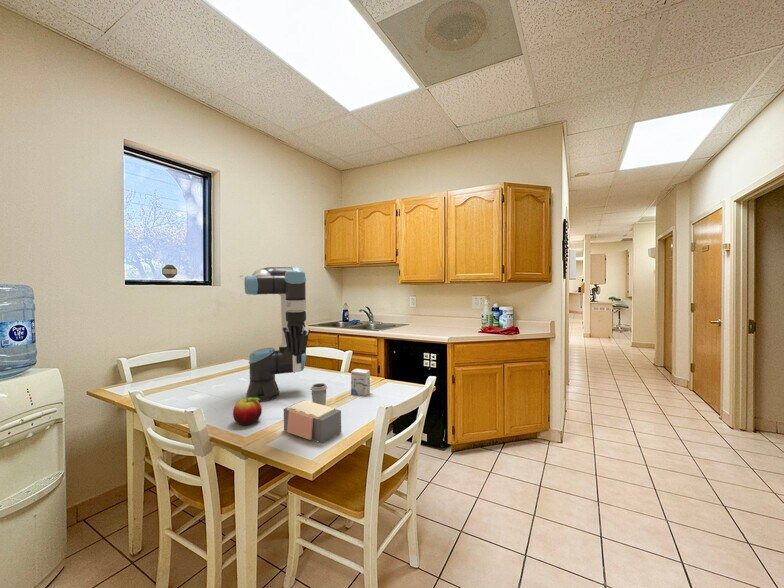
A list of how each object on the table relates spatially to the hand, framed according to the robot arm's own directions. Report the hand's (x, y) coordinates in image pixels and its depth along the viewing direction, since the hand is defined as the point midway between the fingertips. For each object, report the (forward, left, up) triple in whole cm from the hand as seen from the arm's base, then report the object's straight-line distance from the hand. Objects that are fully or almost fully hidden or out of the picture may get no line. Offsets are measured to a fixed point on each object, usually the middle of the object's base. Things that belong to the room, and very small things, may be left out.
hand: (296, 371), depth 127 cm
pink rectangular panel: (+8, -6, -17) cm, 20 cm away
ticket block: (+8, 0, -22) cm, 23 cm away
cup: (-2, +14, -22) cm, 26 cm away
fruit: (-20, -8, -22) cm, 31 cm away
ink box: (-1, +42, -22) cm, 48 cm away
